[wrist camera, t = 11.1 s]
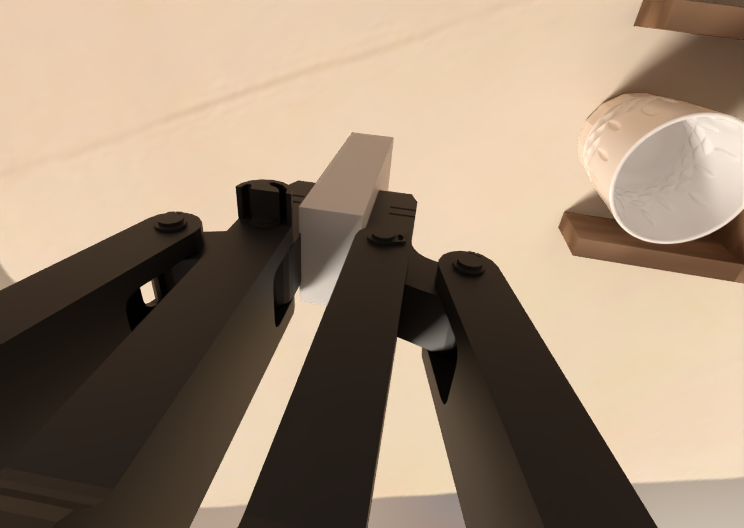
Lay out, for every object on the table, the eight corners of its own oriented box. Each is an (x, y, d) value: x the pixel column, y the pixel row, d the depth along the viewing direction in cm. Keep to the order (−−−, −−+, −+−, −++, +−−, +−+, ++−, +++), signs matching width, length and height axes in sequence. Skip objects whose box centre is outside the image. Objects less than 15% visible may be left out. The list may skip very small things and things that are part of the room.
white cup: (669, 62, 31) (756, 84, 22) (690, 160, 34) (774, 213, 25) (555, 115, 33) (593, 153, 25) (585, 202, 36) (628, 261, 28)
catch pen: (643, 0, 29) (677, -1, 25) (856, 27, 28) (930, 30, 24) (558, 227, 38) (572, 255, 34) (719, 253, 37) (755, 285, 33)
